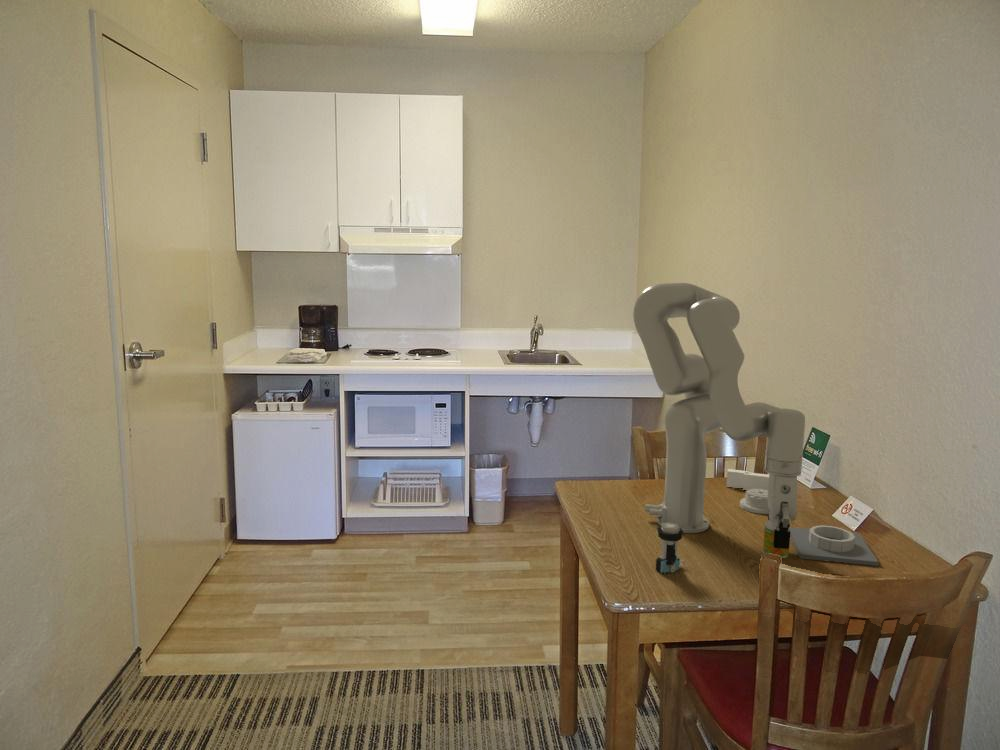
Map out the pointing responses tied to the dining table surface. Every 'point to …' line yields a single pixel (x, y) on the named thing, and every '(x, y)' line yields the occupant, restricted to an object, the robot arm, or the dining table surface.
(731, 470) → the napkin holder
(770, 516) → the supplement bottle
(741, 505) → the mechanical component
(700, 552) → the dining table surface
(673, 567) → the push button
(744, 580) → the dining table surface
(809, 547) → the ring plate
